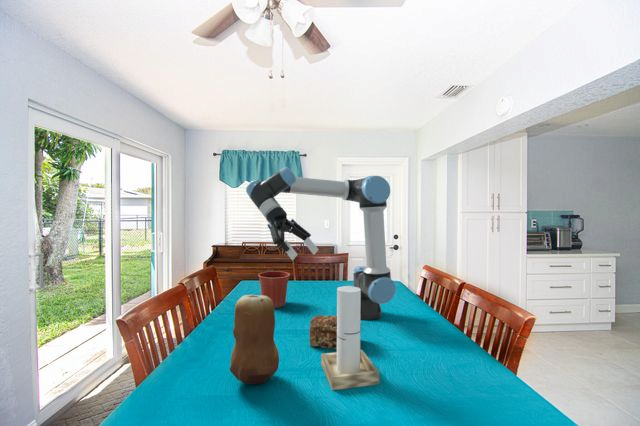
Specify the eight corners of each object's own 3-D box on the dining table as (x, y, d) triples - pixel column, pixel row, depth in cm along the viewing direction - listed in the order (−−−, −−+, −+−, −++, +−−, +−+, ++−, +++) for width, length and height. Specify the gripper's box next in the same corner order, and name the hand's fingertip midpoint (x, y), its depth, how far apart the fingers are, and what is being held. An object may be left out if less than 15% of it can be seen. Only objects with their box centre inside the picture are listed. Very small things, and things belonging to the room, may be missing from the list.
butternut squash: (268, 364, 97) (268, 287, 97) (286, 384, 86) (286, 297, 85) (224, 376, 90) (224, 293, 89) (238, 401, 78) (238, 306, 78)
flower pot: (296, 303, 160) (296, 273, 160) (275, 312, 146) (275, 279, 146) (272, 298, 169) (272, 269, 168) (251, 306, 155) (251, 275, 154)
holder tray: (362, 360, 100) (362, 349, 100) (379, 384, 86) (379, 372, 86) (321, 364, 97) (321, 353, 97) (332, 390, 83) (332, 377, 83)
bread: (308, 348, 109) (308, 320, 109) (313, 335, 120) (314, 310, 119) (360, 352, 106) (360, 324, 106) (361, 339, 116) (361, 313, 116)
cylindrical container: (359, 378, 88) (359, 292, 87) (335, 375, 89) (335, 291, 89) (360, 365, 95) (361, 286, 94) (338, 363, 96) (338, 285, 96)
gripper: (288, 218, 127) (318, 256, 120) (244, 220, 106) (278, 267, 99) (298, 205, 125) (329, 244, 117) (255, 205, 103) (290, 252, 96)
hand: (306, 254), depth 108 cm, fingers open, 13 cm apart
